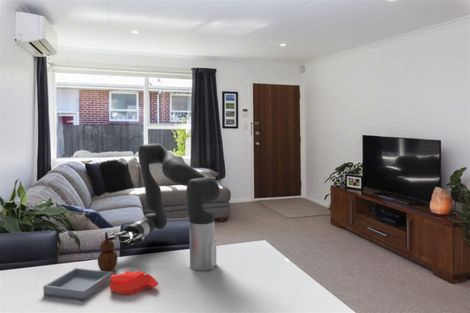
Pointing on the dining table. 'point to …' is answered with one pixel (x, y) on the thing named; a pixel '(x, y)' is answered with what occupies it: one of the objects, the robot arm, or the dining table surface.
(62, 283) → the slate dish
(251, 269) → the dining table surface
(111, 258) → the wooden figurine
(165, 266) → the dining table surface
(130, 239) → the robot arm
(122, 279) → the animal figurine
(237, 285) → the dining table surface
